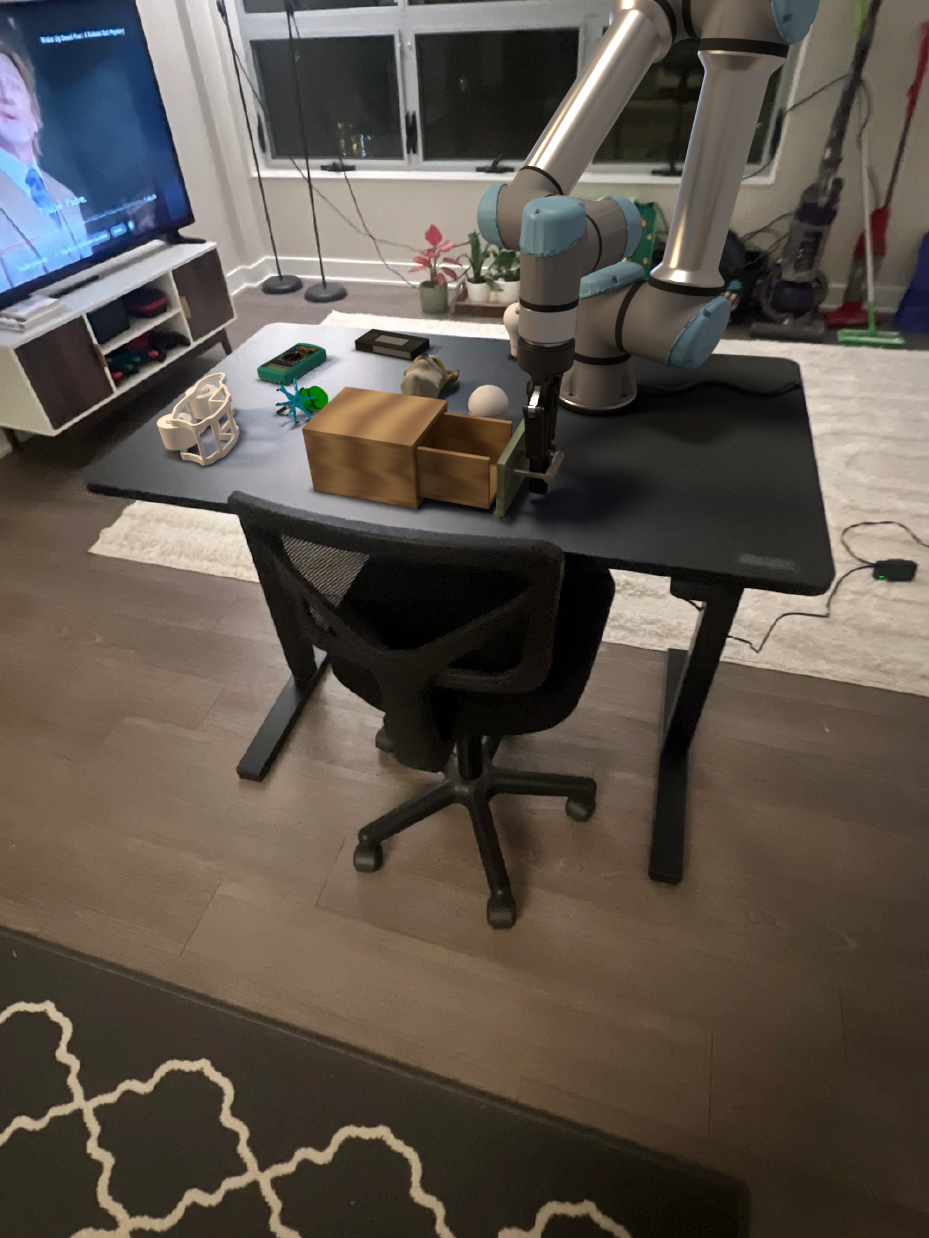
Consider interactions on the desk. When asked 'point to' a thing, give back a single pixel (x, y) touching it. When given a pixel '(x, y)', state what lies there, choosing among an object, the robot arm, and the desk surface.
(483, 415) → the cream egg
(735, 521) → the desk surface
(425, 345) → the vhs tape
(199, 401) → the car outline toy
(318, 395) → the stick construction toy
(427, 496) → the drawer
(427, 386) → the ceramic sculpture
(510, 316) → the lightbulb
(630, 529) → the desk surface
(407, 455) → the cabinet
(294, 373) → the digital multimeter
